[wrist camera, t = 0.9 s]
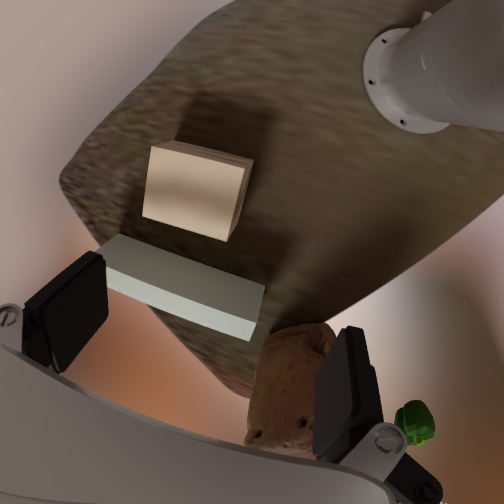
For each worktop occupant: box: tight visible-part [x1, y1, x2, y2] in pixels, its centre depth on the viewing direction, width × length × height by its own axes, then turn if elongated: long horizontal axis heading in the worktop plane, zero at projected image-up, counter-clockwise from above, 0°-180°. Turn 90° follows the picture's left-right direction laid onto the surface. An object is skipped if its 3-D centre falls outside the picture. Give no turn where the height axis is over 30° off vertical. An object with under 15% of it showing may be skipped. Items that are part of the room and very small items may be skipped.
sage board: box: [95, 234, 265, 341], centre depth 38 cm, size 3×22×8 cm, turn 73°
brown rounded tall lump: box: [244, 323, 337, 460], centre depth 35 cm, size 11×8×20 cm
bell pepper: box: [394, 400, 435, 446], centre depth 43 cm, size 8×8×10 cm
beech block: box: [142, 141, 254, 242], centre depth 33 cm, size 8×10×6 cm
